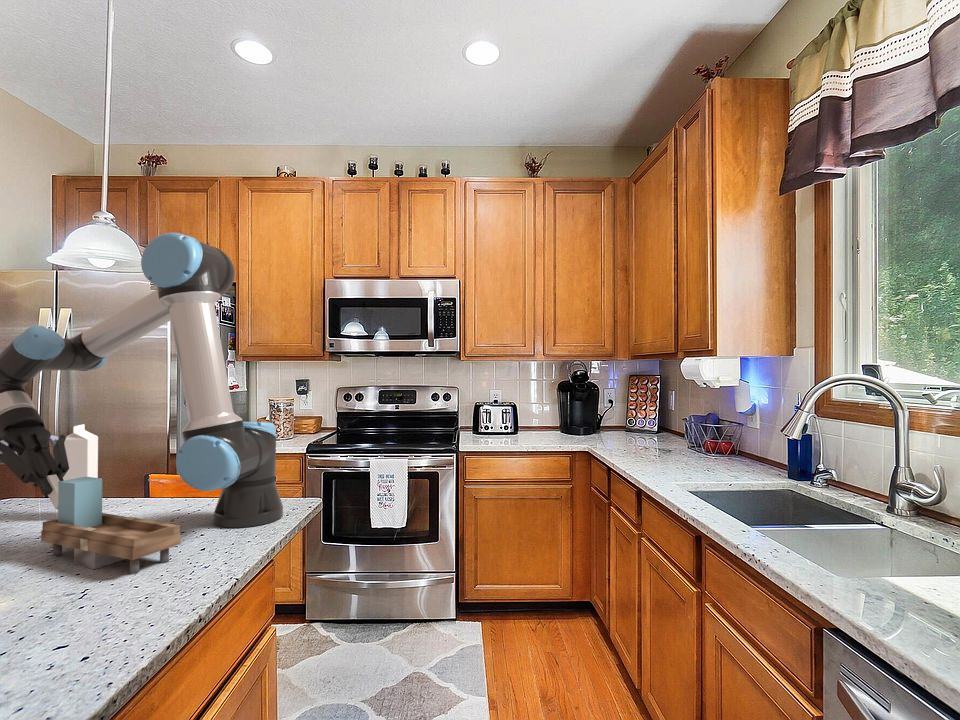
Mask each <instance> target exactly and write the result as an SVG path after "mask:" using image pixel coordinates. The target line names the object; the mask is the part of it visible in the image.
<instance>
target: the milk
mask: <svg viewBox="0 0 960 720" xmlns="http://www.w3.org/2000/svg"><path fill="white" fill-rule="evenodd" d="M85 426H86V425H85V423H83V424H77V425H74V426H73V430H72V433H70V434H68V435H65V436H66V440H65V442H64V445H65V450H66V454H67V459H68V464H69V470H68V471H67V473H66V474H65V476H64V477H62V478H63V480H64V481H65V480H70V479H76V478H81V477H93V478H99V475H98V474H99V472H98V471H99V468H98V467H99V436H98V435H96V434H95V433H91V432H89V431H88V430H86V429H85V428H86V427H85Z"/></svg>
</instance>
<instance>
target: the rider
mask: <svg viewBox="0 0 960 720" xmlns="http://www.w3.org/2000/svg"><path fill="white" fill-rule="evenodd" d="M102 513H103V478H101V477H100V478H99V477H98V478H93V477H81V478H76V479H70V480H65V481H59V482H58V509H57V519H58V522H60V523H66V524H71V525H77V526H82V527H88V528H89V527H93V526H97V525H101V524H102Z"/></svg>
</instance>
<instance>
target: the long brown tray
mask: <svg viewBox="0 0 960 720" xmlns="http://www.w3.org/2000/svg"><path fill="white" fill-rule="evenodd" d="M180 528H181V527H180V525H178V524H173V523H166V522H161V521H157V520H156V521H155V520H148V519H142V518H137V517H133V516H124V515H117V514H113V513H112V514H111V513H105V512H102V524H101V525H97V526H93V527H89V528H88V527H82V526H77V525H71V524H66V523H60V522H58V518H55V519H51V520H46V521H42V529H41V531H40V535H41V536H40V541H41V542H43V543H50V544H52V557H53V556H57V557H61V556H63V547H66V548H72V549H73V565H74V564H76V565H75V566H78V565H80V567H83V566H84V568H87V567H88V568H89V569H93V570H96V569H100V568H103V567H106V566H109V565H112V564H114V563H117V562H118V563H119V562H120V561H121V562H122V561H123V560H129V575H135V574H138V572H139V573H140V558H144V557H146V556H148V555H149V556H150V555H153V554H155V553H158V552H159V563H160V564H165V563H168V562H170V548H173V547H176V546H178V545H181V541H182V540H181V534H182V533H181V529H180ZM60 555H61V556H60ZM102 566H103V567H102ZM88 568H87V569H88Z"/></svg>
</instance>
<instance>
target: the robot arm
mask: <svg viewBox="0 0 960 720" xmlns="http://www.w3.org/2000/svg"><path fill="white" fill-rule="evenodd" d="M140 267H141V270H142V274H143V275H144V277H145V278H146V279H147V280H148V281H149V282H150V283H151V284H152V285H154V286H156V288H157V289H156V290H154V291H152V292H150V293H148V294H146V295H145V296H143V297H141V298H140V299H138V300H137V301H135V302H132V303H131V304H129V305H128V306H125V307H124V308H122V309H121V310H119V311H117V312H116V313H114V314H112V315H111V316H109V317H106V318H105V319H103V320H102V321H100V322H98V323H97V324H95V325H93V326H91V327H89V328H87V329H85V330H84V331H82V332H81V333H79V334H76V335H75V336H74V337H72V338H71V337H70V338H68V337H66V338H65V337H64V338H63V337H62V336H61V335H60V334H59V333H58V332H56V331H55V330H53V329H51V328H47V327H46V326H43V325H39V324H38V325H31V326H29V327H28V328H26V329H25V330H24V331H23V332H21V333H20V334H18V335H17V336H16V337H15V338H14V339H13V340H12V341H11V343H9V344H8V346H7V347H5V349H4V350H2V351H1V352H0V460H1V462H2V463H3V464H5V466H6V467H7V468H8V469H9V470H10V471H11V472H12V473H13V474H14V475H15V477H17V478H18V479H19V480H20V481H21V482H22V483H23V484H30V483H33V484H32V486H33V487H36V488H39V490H40V492H41V494H42V495H43V496H48V498H49V501H50V502H51V504H52V506H53V508H54V509H55V510H58V482H59V481H64V480H63V478H62V477H64V476H65V474H66V473H67V471H68V470H69V464H68V459H67V454H66V450H65V445H64V442H65V440H66V436H67V435H65V434H61V435H59V436H56V435H52V433H51V431H49V430H48V429H46V427H45V423H44V421H43V419H42V417H41V415H40V413H39V411H38V410H37V409H36V408H37V407H36V405H35V404H34V403H33V401H32V399H31V397H30V395H29V394H28V392H27V391H26V389H25V386H26V385H27V384H28V383H29V382H30V381H32V380H33V379H34V378H35V377H36V376H37V375H38V374H39V373H40V372H42V371H79V372H87V371H92V370H96V369H100V368H101V367H103V366H104V364H105V363H106V361H107V359H108V357H109V356H110V355H112V354H114V353H116V352H118V351H119V350H122V349H123V348H125V347H126V346H128V345H130V344H131V343H134V342H135V341H137V340H138V339H141V338H142V337H144V336H146V335H148V334H149V333H151V332H153V331H155V330H156V329H158V328H160V327H162V326H163V325H165V324H167V323H168V322H171V326H172V331H173V333H172V334H173V339H174V342H175V343H174V344H175V349H176V356H177V360H178V366H179V372H180V378H181V383H182V389H183V395H184V401H185V404H186V405H185V406H186V412H187V417H188V421H187V423H186V424H185V426H184V427H183V428H182V430H181V433H182V437H183V443H182V445H180V447H179V450H178V451H177V453H176V457H175V467H176V470H177V473H178V475H179V477H180V478H181V480H182V481H183V482H184V483H185V484H186V485H188V486H190V487H191V488H192V489H194V490H197V491H202V492H214V491H218V490H221V491H220V494H219V496H218V500H217V502H216V506H215V508H214V511H213V524H214V525H216V526H218V527H224V528H248V527H250V528H251V527H257V526H261V525H266V524H270V523H273V522H275V521H278V520H280V519H282V517H283V516H284V504H283V502H282V499H281V496H280V493H279V491H278V487H277V484H276V471H277V470H276V467H277V466H276V464H277V463H276V462H277V461H276V460H277V459H276V458H277V457H276V456H277V455H276V454H277V453H276V452H277V437H278V436H277V434H276V426H275V424H274V423H273V422H267V421H243V418H242V417H240V416H239V415H237V414H236V413H235V412H234V409H233V408H234V407H233V403H232V397H231V393H230V392H231V391H230V387H229V385H230V384H229V381H228V374H227V369H226V364H225V358H224V351H223V346H222V341H221V335H220V334H221V333H220V330H219V324H218V317H217V312H216V307H215V305H216V303H217V302H218V300H219V299H220V298H221V297H222V296H223V295H225V294H226V293H227V292H228V291H229V290H230V289H231V287H232V286H233V283H234V281H235V275H236V274H235V273H236V272H235V266H234V263H233V261H232V260H231V259H230V257H229V256H228V255H227V254H226V253H225V252H224V250H221V249H220V248H217V247H216V246H213V245H210V244H207V243H205V242H202V241H200V240H197V239H196V238H195V237H194V236H191V235H187V234H182V233H179V232H165V233H163V234H159V235H157V236H156V237H154V238H153V239H152V240H151V241H150V242H149V243H148V245H147V246H145V247H144V249H143V252H142V255H141V259H140ZM48 443H50V448H52V453H51V452H50V449H49V444H48Z"/></svg>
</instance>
